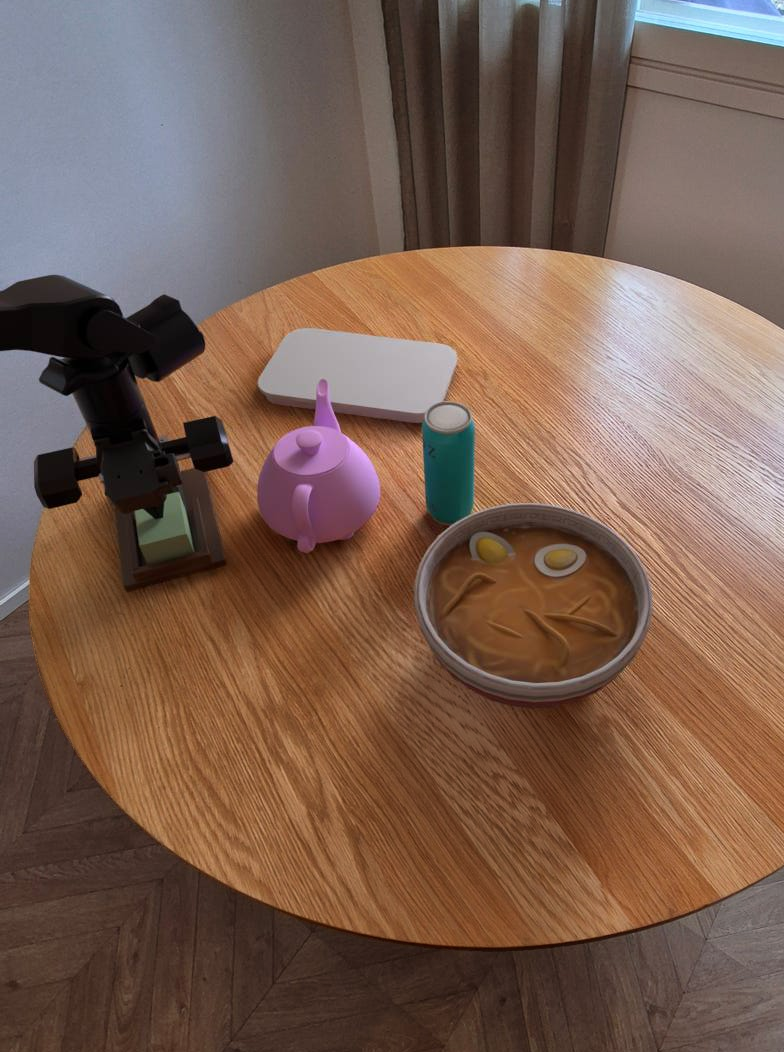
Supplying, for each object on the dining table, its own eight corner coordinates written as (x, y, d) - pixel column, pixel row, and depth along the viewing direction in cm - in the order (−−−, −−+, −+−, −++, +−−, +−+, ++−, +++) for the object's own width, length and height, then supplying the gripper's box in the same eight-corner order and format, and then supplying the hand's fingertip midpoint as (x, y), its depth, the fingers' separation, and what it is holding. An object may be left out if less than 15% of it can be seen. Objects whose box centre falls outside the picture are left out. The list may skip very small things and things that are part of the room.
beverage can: (461, 490, 98) (460, 393, 87) (481, 520, 95) (483, 424, 84) (418, 504, 96) (412, 407, 85) (438, 536, 93) (434, 439, 82)
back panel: (126, 592, 87) (110, 563, 83) (114, 492, 97) (100, 462, 93) (227, 565, 90) (216, 535, 86) (205, 471, 100) (195, 441, 96)
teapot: (283, 451, 103) (265, 375, 94) (391, 455, 102) (384, 378, 93) (247, 570, 89) (223, 494, 80) (372, 574, 89) (362, 498, 80)
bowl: (498, 533, 93) (501, 471, 86) (674, 625, 85) (694, 565, 77) (372, 666, 81) (363, 607, 73) (564, 791, 72) (575, 738, 65)
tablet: (294, 338, 120) (291, 325, 118) (461, 359, 117) (461, 346, 115) (253, 404, 109) (250, 391, 107) (437, 429, 106) (436, 416, 104)
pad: (150, 569, 88) (139, 545, 85) (144, 526, 92) (133, 502, 89) (196, 557, 89) (186, 533, 86) (187, 515, 93) (178, 491, 90)
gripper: (6, 483, 69) (73, 593, 80) (224, 433, 73) (257, 544, 85) (7, 407, 75) (68, 519, 87) (206, 366, 80) (239, 477, 92)
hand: (159, 516), depth 87 cm, fingers closed
